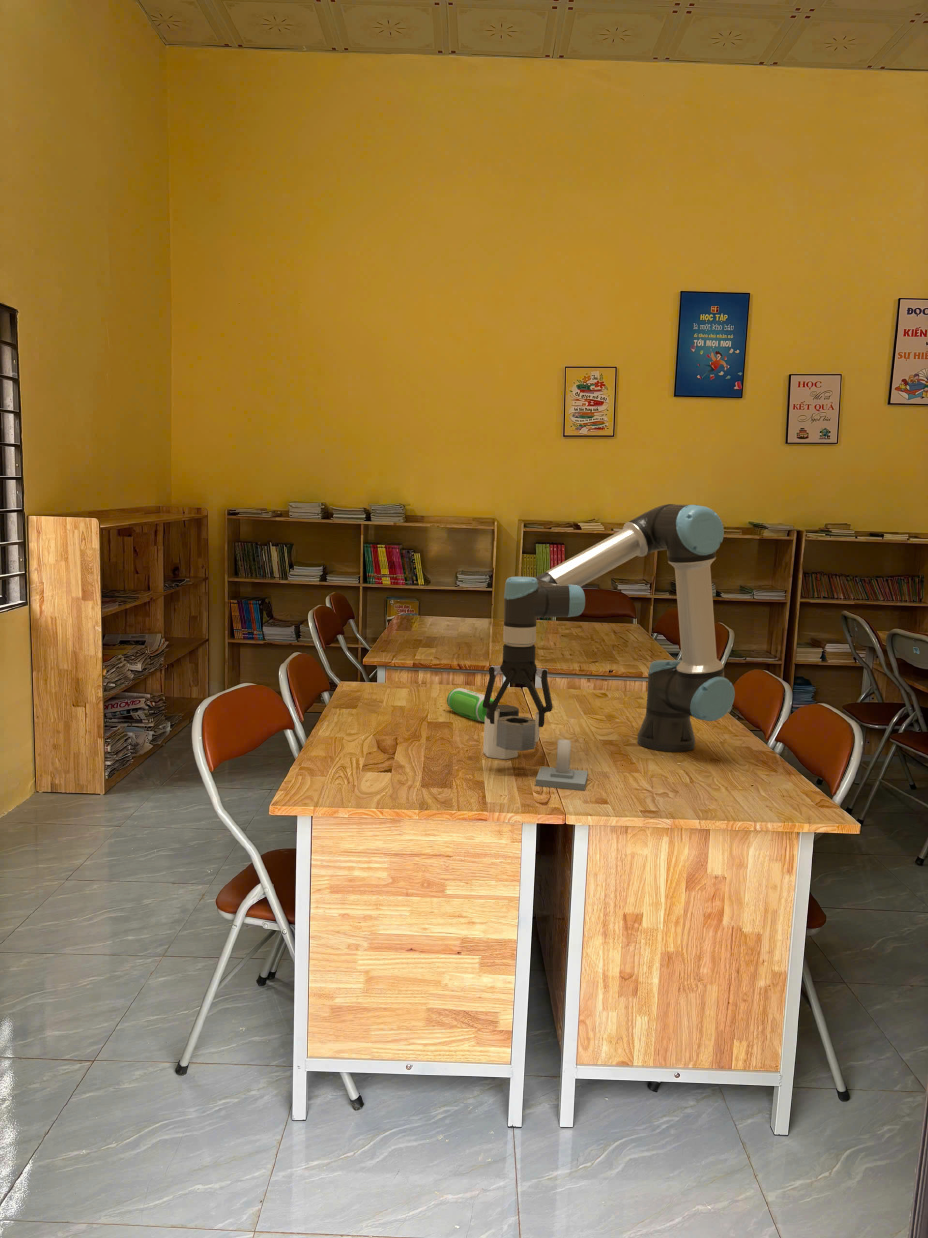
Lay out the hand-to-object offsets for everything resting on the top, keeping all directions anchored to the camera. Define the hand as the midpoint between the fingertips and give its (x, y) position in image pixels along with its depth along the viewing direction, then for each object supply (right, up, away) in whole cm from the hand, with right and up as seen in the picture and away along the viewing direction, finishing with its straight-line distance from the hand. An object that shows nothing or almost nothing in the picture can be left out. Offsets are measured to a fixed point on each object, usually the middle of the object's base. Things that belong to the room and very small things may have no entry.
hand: (516, 738), depth 230 cm
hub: (0, -2, 0) cm, 2 cm away
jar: (-3, -6, +15) cm, 17 cm away
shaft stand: (+10, -9, -5) cm, 15 cm away
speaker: (-10, -1, +56) cm, 57 cm away
